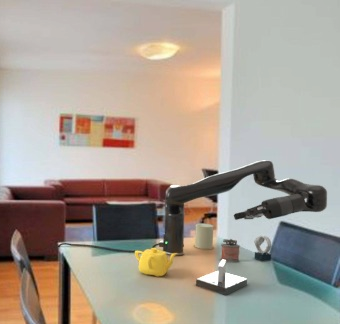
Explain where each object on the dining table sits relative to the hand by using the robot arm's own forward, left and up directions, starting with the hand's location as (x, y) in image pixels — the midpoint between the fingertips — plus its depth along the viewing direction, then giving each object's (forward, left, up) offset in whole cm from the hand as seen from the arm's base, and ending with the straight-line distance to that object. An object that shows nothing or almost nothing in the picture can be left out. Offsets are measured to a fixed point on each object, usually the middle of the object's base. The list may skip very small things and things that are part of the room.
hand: (234, 216), depth 151 cm
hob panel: (-3, -8, -25) cm, 27 cm away
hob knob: (-3, -8, -23) cm, 24 cm away
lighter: (-2, +28, -25) cm, 38 cm away
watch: (+12, +38, -25) cm, 47 cm away
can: (-16, +48, -25) cm, 57 cm away
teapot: (-29, -6, -25) cm, 39 cm away
